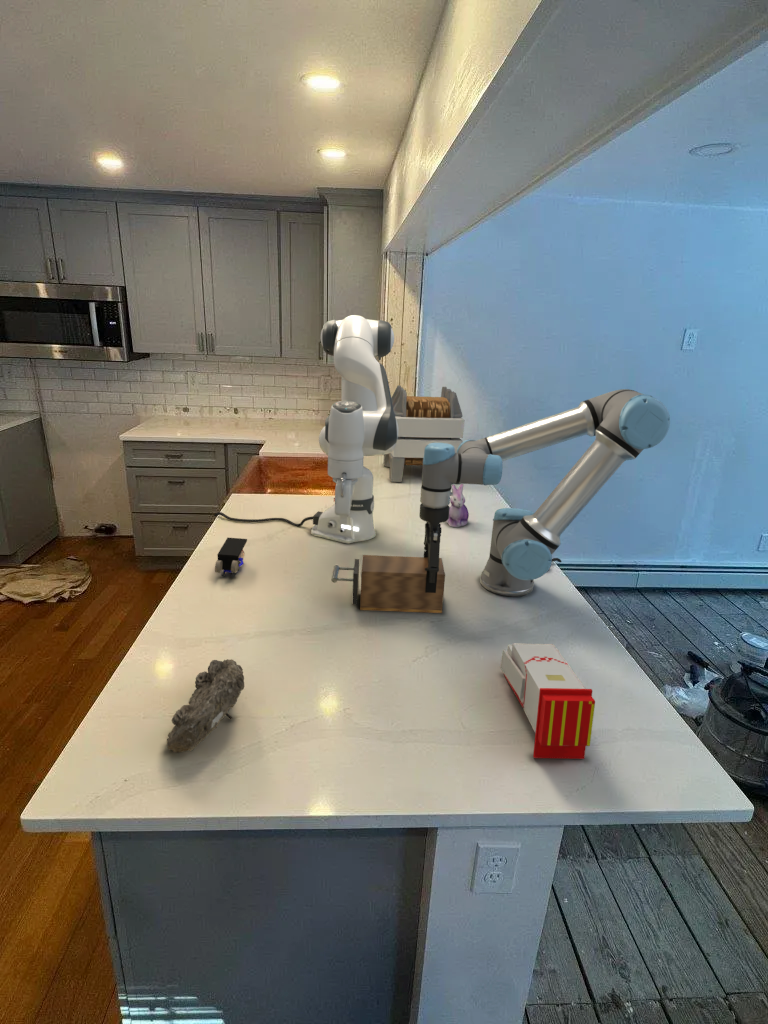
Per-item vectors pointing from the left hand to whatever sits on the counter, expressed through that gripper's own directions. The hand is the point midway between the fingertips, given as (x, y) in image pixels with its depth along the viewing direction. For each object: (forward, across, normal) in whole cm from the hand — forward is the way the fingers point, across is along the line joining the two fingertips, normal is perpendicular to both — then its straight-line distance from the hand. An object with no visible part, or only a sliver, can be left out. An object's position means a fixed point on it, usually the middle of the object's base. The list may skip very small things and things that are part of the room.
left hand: (344, 519), depth 146 cm
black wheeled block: (+23, +15, +34) cm, 44 cm away
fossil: (+23, -48, +21) cm, 57 cm away
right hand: (+17, 0, -23) cm, 28 cm away
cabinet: (+23, 0, -16) cm, 28 cm away
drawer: (+22, 0, -10) cm, 24 cm away
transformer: (+23, +129, -28) cm, 134 cm away
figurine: (+23, +62, -38) cm, 76 cm away
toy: (+23, -42, -42) cm, 64 cm away
